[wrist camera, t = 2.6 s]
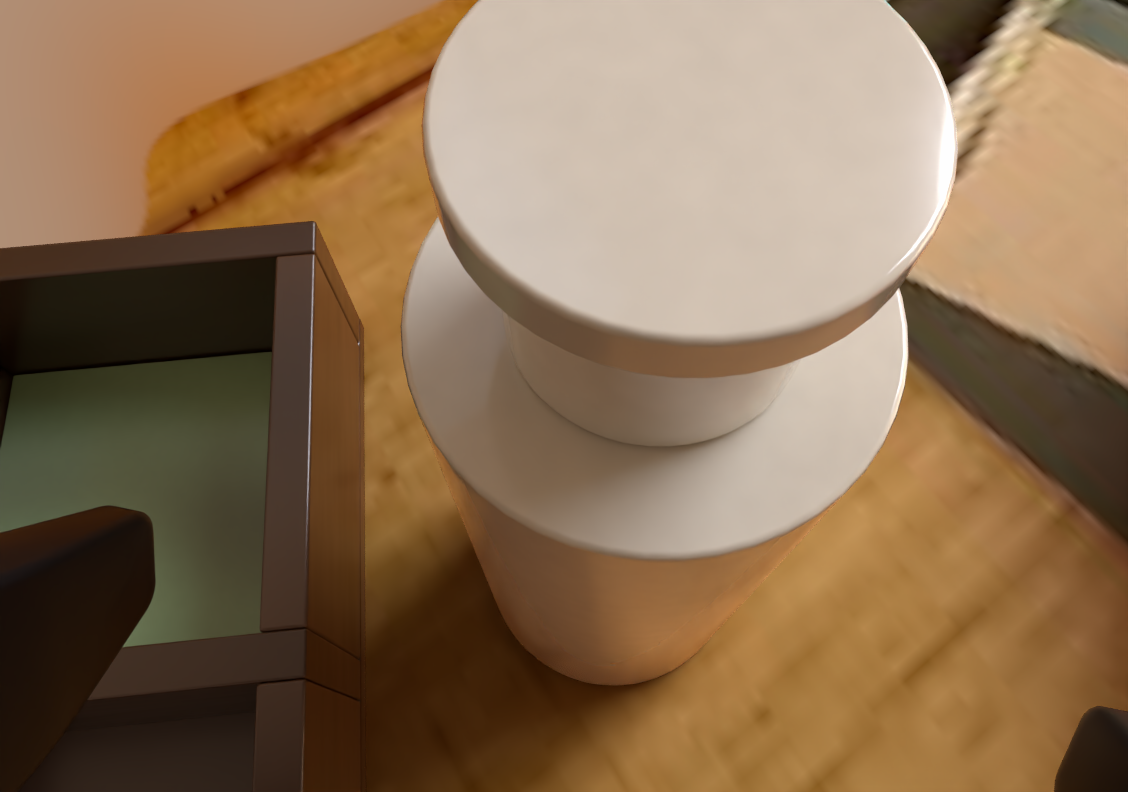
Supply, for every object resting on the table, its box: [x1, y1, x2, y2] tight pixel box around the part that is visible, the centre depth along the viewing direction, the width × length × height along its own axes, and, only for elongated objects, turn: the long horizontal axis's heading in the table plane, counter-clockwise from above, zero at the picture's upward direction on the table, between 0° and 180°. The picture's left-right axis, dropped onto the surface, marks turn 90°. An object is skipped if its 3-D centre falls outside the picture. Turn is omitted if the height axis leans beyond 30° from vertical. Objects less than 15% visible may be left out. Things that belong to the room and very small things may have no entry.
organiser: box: [0, 221, 366, 792], centre depth 16 cm, size 17×9×4 cm, turn 6°
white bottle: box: [401, 0, 958, 685], centre depth 13 cm, size 5×5×14 cm
